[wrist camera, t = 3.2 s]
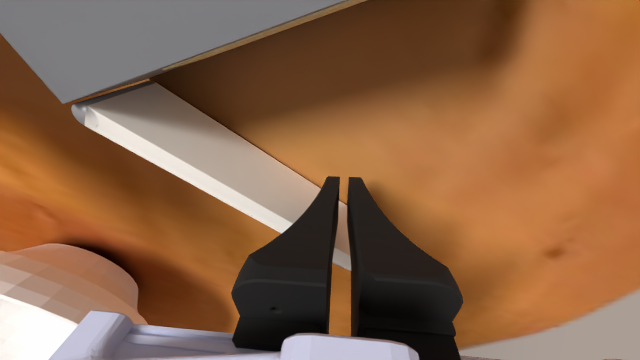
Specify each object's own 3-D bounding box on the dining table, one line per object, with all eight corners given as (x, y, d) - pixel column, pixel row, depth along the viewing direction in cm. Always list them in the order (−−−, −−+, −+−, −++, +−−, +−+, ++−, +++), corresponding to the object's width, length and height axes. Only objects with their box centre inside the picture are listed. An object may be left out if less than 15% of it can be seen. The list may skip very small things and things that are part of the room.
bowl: (106, 183, 17) (-12, 263, 11) (219, 315, 28) (187, 391, 22) (-71, 206, 21) (-226, 275, 15) (89, 315, 31) (33, 380, 26)
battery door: (139, 107, 13) (69, 136, 10) (146, 76, 12) (72, 97, 9) (351, 234, 17) (351, 285, 14) (369, 220, 16) (375, 270, 13)
